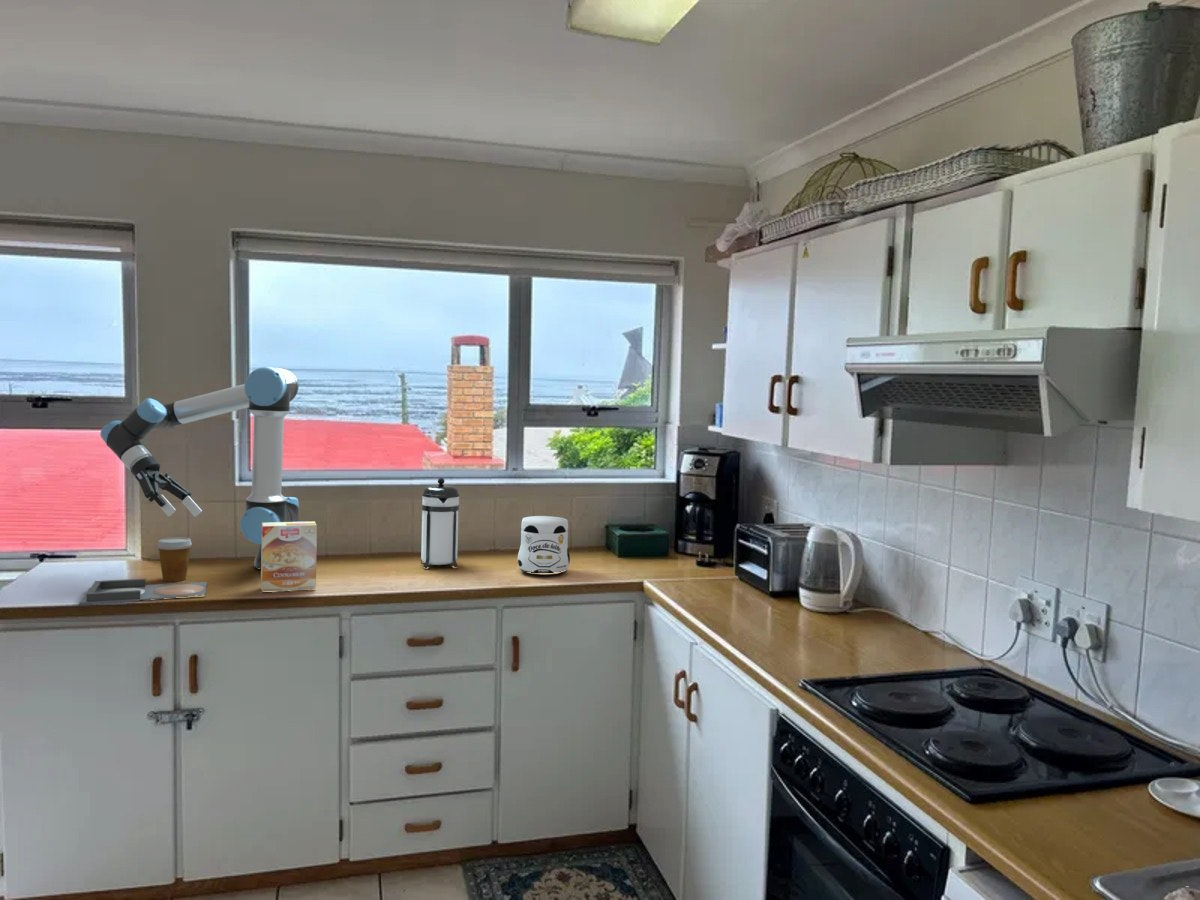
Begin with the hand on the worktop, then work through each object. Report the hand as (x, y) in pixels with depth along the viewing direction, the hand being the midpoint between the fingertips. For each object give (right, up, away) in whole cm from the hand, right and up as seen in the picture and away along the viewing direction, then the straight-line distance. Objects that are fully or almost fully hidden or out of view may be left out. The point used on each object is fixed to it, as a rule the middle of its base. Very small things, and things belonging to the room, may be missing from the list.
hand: (185, 513), depth 256 cm
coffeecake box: (+34, -22, -7) cm, 41 cm away
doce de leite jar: (+106, -22, +27) cm, 111 cm away
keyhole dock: (-2, -21, -18) cm, 28 cm away
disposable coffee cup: (-3, -20, 0) cm, 20 cm away
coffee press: (+69, -20, +33) cm, 80 cm away
